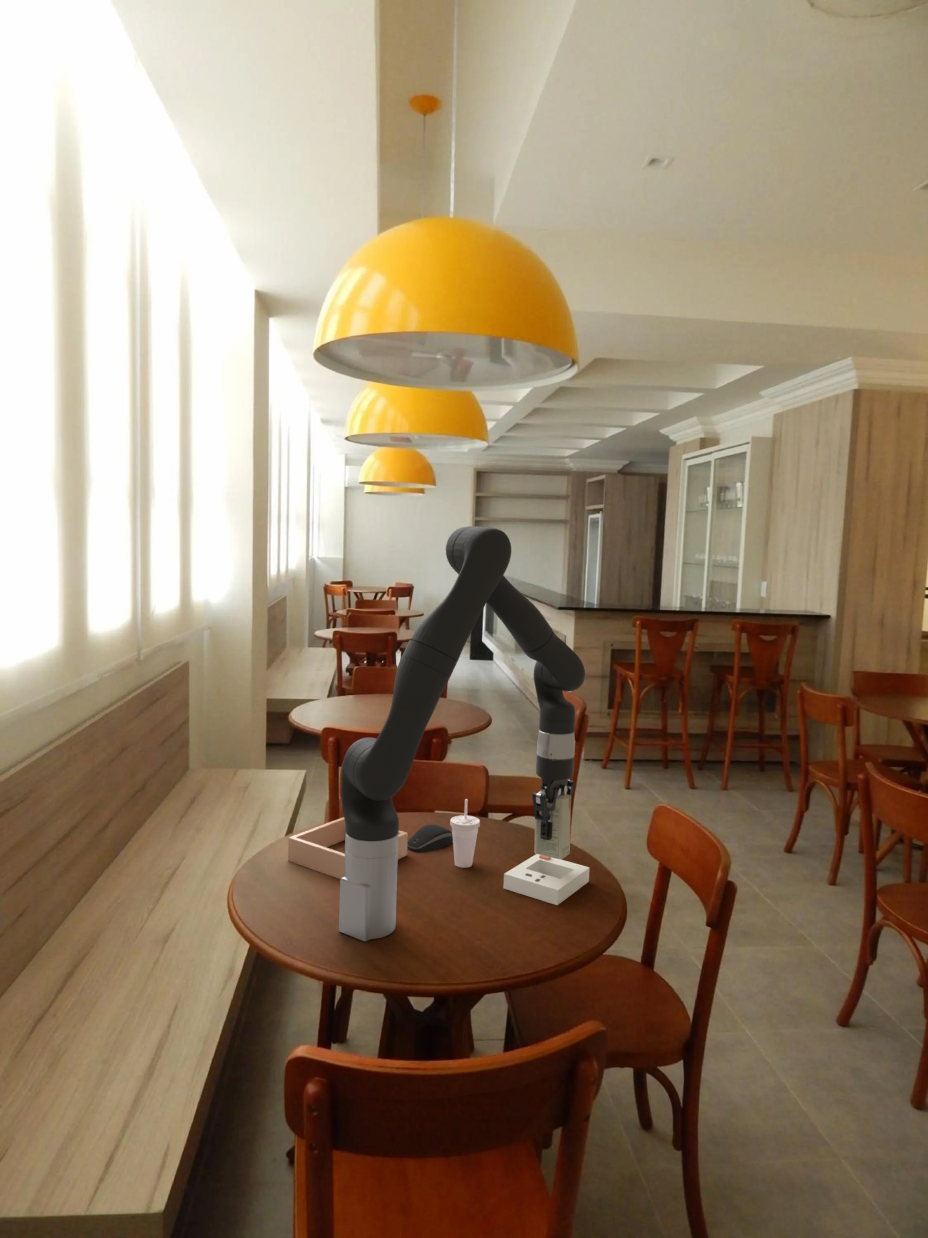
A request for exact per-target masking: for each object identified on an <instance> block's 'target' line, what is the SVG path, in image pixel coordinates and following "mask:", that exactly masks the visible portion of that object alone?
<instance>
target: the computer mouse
mask: <svg viewBox="0 0 928 1238" xmlns="http://www.w3.org/2000/svg"><path fill="white" fill-rule="evenodd" d="M451 843H452V844H453V836H452V830H450V829H448V828H446V827H444V826H442V825H438V824H430V823H429V824H425V825H424V826H422V827H420V829H418V830H417V831H416V832H415V833H414V834H413V835H412V836H411V837H410V838H409V840H408V842H407V850H409V851H412V852H416V853H423V852H425V853H426V852H430V851H434V850H438V849H441V848H445V847H447V846H449V845H451Z"/></svg>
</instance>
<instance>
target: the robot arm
mask: <svg viewBox="0 0 928 1238" xmlns="http://www.w3.org/2000/svg"><path fill="white" fill-rule="evenodd" d="M445 555H446V559H447V562H448V563H449V565H450V566H449V567H451V568H452V569H453V570H454V572H455V573H457V575H458V576H457V577H456V580H455V581H454V584H453V586H452V588H451V589H450V590H449V592H448V594H447V595H446V596H445V598H443V600H442V601H441V602H440V604H438V605H437V606H436V607H435V608H434V609H433V610H432V611H431V612H430V613H429V614H428V615H427V616H426V617H425V618H424V619H423V620H422V621H421V623H419V625H417V627H416V629H414V632H413V633H412V635H411V637H410V638H409V641H408V642H407V645H406V647H405V649H404V651H403V653H402V655H401V657H400V659H399V663H398V665H397V668H396V673H395V677H394V684H393V685H394V686H393V694H392V701H391V706H390V709H389V712H388V715H387V717H386V718H387V719H386V720H385V722H384V725H383V726H382V728H381V731H380V732H379V735H377V738H375V737H369V736H367V737H363V738H360V739H357V740H355V741H354V742H353V743H352V744H351V745H350V746H349V748H348V749H347V751H346V753H345V755H344V757H343V761H342V769H341V807H342V816H343V817H344V819H345V832H346V834H345V840H344V842H345V843H344V854H345V867H344V877H343V878H341V879H339V906H338V907H339V908H338V909H339V911H338V912H339V914H338V915H339V916H338V932H341V933H343V934H345V935H347V936H350V937H352V938H355V939H357V940H359V941H362V942H368V941H369V940H375V939H380V938H384V937H387V936H388V935H390V934H392V933H393V932H394V931H395V929H396V921H397V920H396V919H397V918H396V915H397V892H398V891H397V885H398V864H399V863H398V861H399V859H398V836H399V831H400V830H399V828H400V820H399V815H398V813H397V811H396V809H395V806H394V802H393V797H394V796H395V795H398V792H400V790H401V789H402V788H403V786H404V785H405V783H406V781H407V779H408V777H409V774H410V772H411V769H412V767H413V762H414V761H415V758H416V755H417V752H418V750H419V749H418V748H419V747H420V744H421V741H422V738H423V735H424V733H425V730H426V729H427V726H428V723H429V721H430V720H431V718H432V716H433V714H434V712H435V709H436V707H437V705H438V702H440V701H439V700H440V698H441V696H442V694H443V692H444V689H445V688H446V686H447V684H448V683H449V681H450V679H451V677H452V674H453V672H454V670H455V667H456V666H457V665H458V664H457V663H458V661H459V659H460V657H461V655H462V653H463V650H464V647H465V645H466V643H467V642H468V640H469V637H470V635H471V634H472V631H473V630H474V627H475V626H476V623H477V622H478V620H479V617H480V615H481V613H482V611H483V610H484V607H485V606H486V604H487V605H488V607H489V608H490V609H491V610H492V612H493V613H494V614H495V615H496V616H497V618H499V620H500V621H501V622H502V624H503V625H504V627H506V629H507V630H508V632H509V633H510V634H511V636H512V638H513V639H514V640H515V642H516V643H517V645H518V646H519V647H520V649H521V650H522V651H523V653H524V654H525V655H526V656H527V657H528V658H529V659H531V660H534V661H536V662H535V664H534V668H533V682H534V688H535V694H536V698H537V702H538V706H539V719H538V720H539V721H538V722H539V723H538V735H537V740H536V742H537V744H536V746H537V747H536V760H535V761H536V762H535V764H536V767H535V774H536V775H537V776H538V777H539V779H540V778H541V785H540V786H539V787H540V791H538V792H533V793H532V805H533V815H534V820H535V819H537V820H540V821H541V832H540V837H541V839H544V840H548V841H549V840H551V839H552V820H553V812H554V811H555V810H556V800H557V799H558V798H559V797H560V795H571V801H573V800H572V797H573V792H574V788H575V787H574V786H575V780H572V778H573V776H574V771H575V751H576V750H575V749H576V748H575V747H576V738H575V723H576V721H575V720H576V709H575V706H574V704H573V703H572V702H570V701H569V700H568V699H566V698H565V696H564V692H573V691H576V690H579V688H581V687H582V685H583V684H584V682H585V677H586V671H585V670H586V669H585V666H584V664H583V661H582V660H581V658H580V657H579V655H578V654H577V653H576V652H575V651H574V650H573V649H572V648H571V647H570V646H569V645H567V643H566V642H565V641H564V640H562V639H561V638H560V637H558V635H556V633H555V631H554V630H553V628H552V626H551V625H550V624H549V622H548V621H547V619H546V618H545V616H544V615H543V613H541V611H540V610H539V608H538V607H536V605H534V603H533V602H532V601H531V600H529V599H528V598H527V597H526V596H525V595H524V594H523V593H521V591H519V590H518V589H517V588H516V587H515V586H514V585H513V584H512V583H511V582H510V581H509V580H508V579H507V577H505V575H504V574H505V573H506V571H507V569H508V566H509V564H510V561H511V557H512V543H511V541H510V538H509V537H508V535H507V534H506V533H505V532H504V531H503V530H501V529H498V528H495V527H488V526H486V527H485V526H476V525H475V526H473V525H472V526H469V525H468V526H463V527H460V528H459V527H458V528H456V530H454V531H453V532H452V533H451V534H450V535H449V537H448V538H447V541H446V544H445ZM547 803H550V804H552V803H553V805H552V806H548V805H547ZM548 810H549V815H548ZM539 811H540V813H539Z"/></svg>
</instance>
